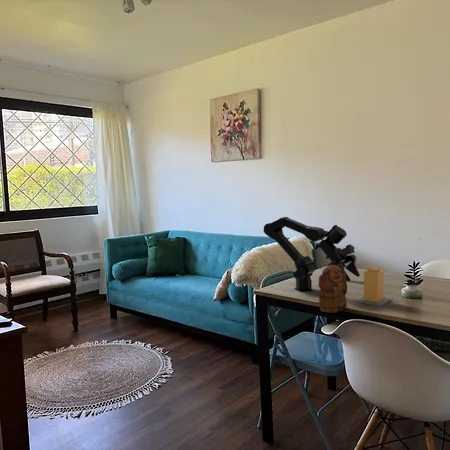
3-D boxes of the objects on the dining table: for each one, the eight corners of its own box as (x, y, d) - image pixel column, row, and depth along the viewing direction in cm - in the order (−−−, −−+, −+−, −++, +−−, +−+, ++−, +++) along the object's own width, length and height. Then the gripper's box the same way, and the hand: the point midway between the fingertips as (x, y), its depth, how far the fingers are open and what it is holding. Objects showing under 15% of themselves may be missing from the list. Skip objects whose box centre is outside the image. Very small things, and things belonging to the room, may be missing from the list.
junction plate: (357, 302, 175) (357, 291, 174) (367, 296, 182) (367, 286, 182) (381, 306, 168) (381, 295, 168) (390, 300, 176) (390, 290, 175)
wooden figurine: (329, 314, 161) (328, 268, 159) (317, 310, 166) (316, 266, 164) (350, 308, 167) (350, 264, 165) (338, 305, 172) (338, 262, 170)
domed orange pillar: (364, 299, 175) (363, 269, 174) (369, 296, 179) (369, 266, 178) (378, 302, 171) (378, 270, 170) (383, 298, 175) (383, 268, 174)
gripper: (332, 241, 175) (357, 270, 169) (352, 236, 189) (376, 263, 182) (316, 258, 181) (339, 287, 175) (336, 252, 195) (358, 278, 189)
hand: (354, 278), depth 180 cm, fingers open, 9 cm apart
